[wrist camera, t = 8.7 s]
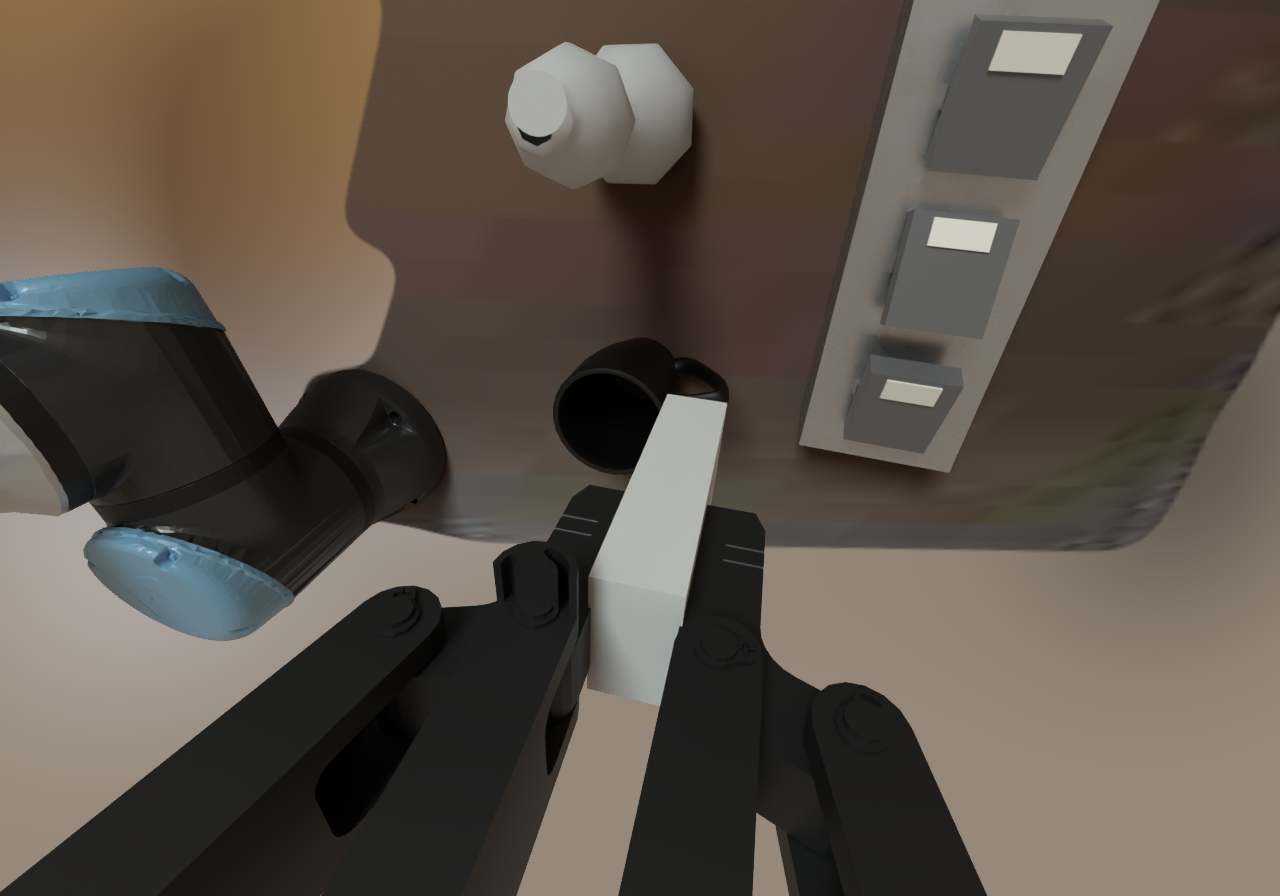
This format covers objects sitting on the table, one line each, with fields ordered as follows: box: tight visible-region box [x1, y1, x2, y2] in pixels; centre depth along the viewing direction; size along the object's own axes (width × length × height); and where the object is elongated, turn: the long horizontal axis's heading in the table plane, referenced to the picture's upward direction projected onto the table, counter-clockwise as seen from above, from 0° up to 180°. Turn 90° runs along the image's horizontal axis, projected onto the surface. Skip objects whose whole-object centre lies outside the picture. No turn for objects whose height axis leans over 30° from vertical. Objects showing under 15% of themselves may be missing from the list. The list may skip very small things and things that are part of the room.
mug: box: [553, 338, 729, 475], centre depth 40 cm, size 8×12×10 cm
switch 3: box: [843, 355, 964, 454], centre depth 34 cm, size 5×6×2 cm
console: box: [799, 0, 1160, 473], centre depth 33 cm, size 10×26×6 cm, turn 176°
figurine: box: [505, 42, 694, 189], centre depth 27 cm, size 8×8×20 cm
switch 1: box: [925, 14, 1113, 181], centre depth 25 cm, size 5×6×2 cm
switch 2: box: [880, 209, 1020, 339], centre depth 30 cm, size 5×6×2 cm
